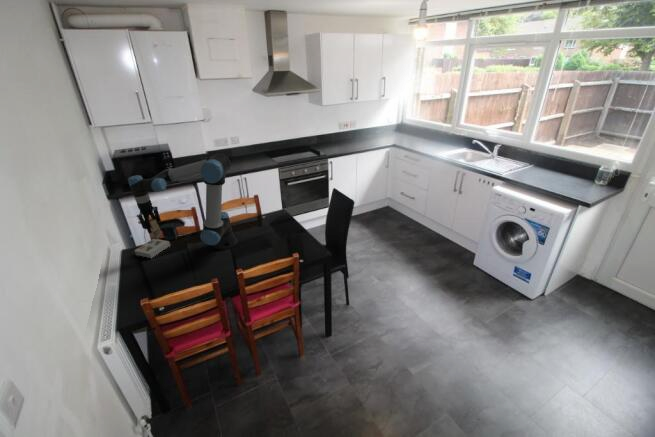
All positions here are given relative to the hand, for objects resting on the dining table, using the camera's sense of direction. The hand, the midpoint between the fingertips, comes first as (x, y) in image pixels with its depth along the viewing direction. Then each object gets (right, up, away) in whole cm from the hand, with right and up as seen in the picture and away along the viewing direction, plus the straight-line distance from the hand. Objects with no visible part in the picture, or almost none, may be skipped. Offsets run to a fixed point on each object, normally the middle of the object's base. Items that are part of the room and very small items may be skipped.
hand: (156, 234), depth 201 cm
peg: (0, -2, +1) cm, 2 cm away
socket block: (-9, -12, +14) cm, 21 cm away
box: (-4, -4, +29) cm, 29 cm away
